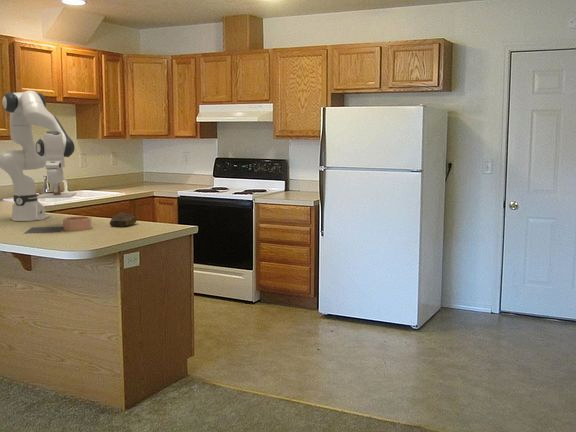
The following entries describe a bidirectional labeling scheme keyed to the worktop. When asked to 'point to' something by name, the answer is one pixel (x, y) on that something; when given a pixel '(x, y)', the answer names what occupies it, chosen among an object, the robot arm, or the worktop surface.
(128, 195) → the worktop surface
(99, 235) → the worktop surface
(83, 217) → the bowl
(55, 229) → the mat
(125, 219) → the stone
